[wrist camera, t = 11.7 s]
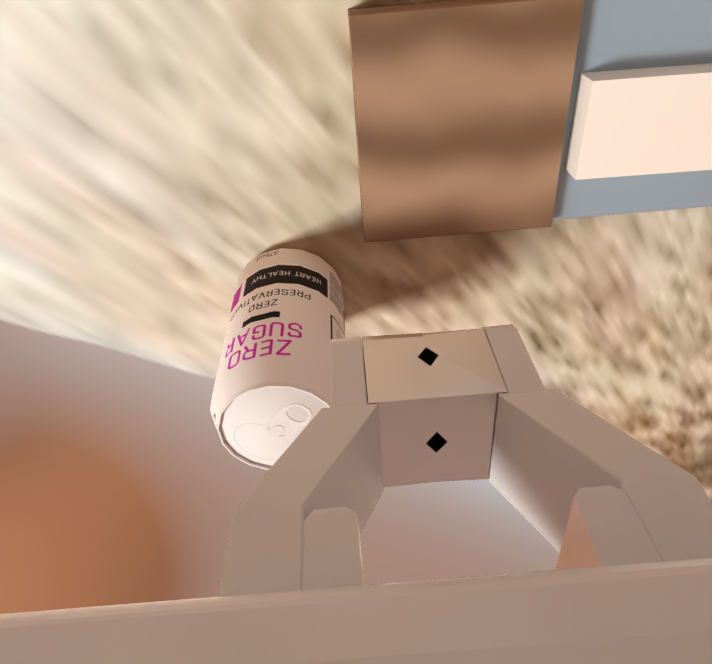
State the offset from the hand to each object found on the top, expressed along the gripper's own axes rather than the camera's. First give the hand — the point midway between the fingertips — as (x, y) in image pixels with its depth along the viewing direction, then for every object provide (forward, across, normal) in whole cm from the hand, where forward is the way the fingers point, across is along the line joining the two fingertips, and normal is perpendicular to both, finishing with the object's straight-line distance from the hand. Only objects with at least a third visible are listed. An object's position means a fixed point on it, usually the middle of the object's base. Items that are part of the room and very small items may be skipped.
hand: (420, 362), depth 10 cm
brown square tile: (+31, -6, +6) cm, 32 cm away
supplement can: (+31, +6, +18) cm, 37 cm away
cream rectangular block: (+30, -18, +6) cm, 35 cm away
